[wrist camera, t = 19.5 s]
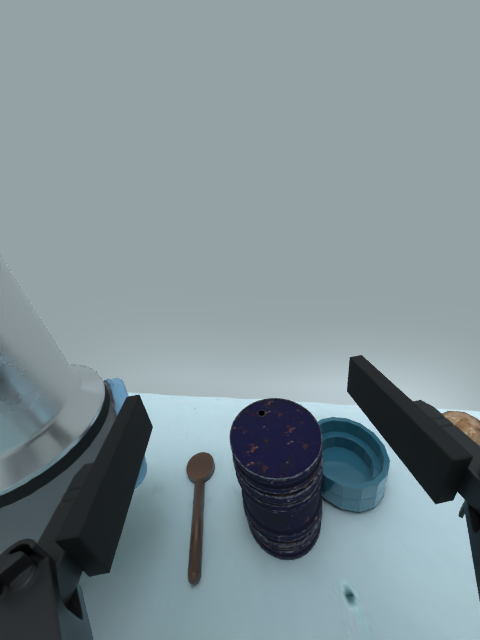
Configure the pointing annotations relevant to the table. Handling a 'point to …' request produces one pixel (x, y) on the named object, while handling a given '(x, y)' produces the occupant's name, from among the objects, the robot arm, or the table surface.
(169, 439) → the table surface
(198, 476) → the spoon
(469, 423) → the mushroom
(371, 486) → the bowl
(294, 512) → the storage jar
